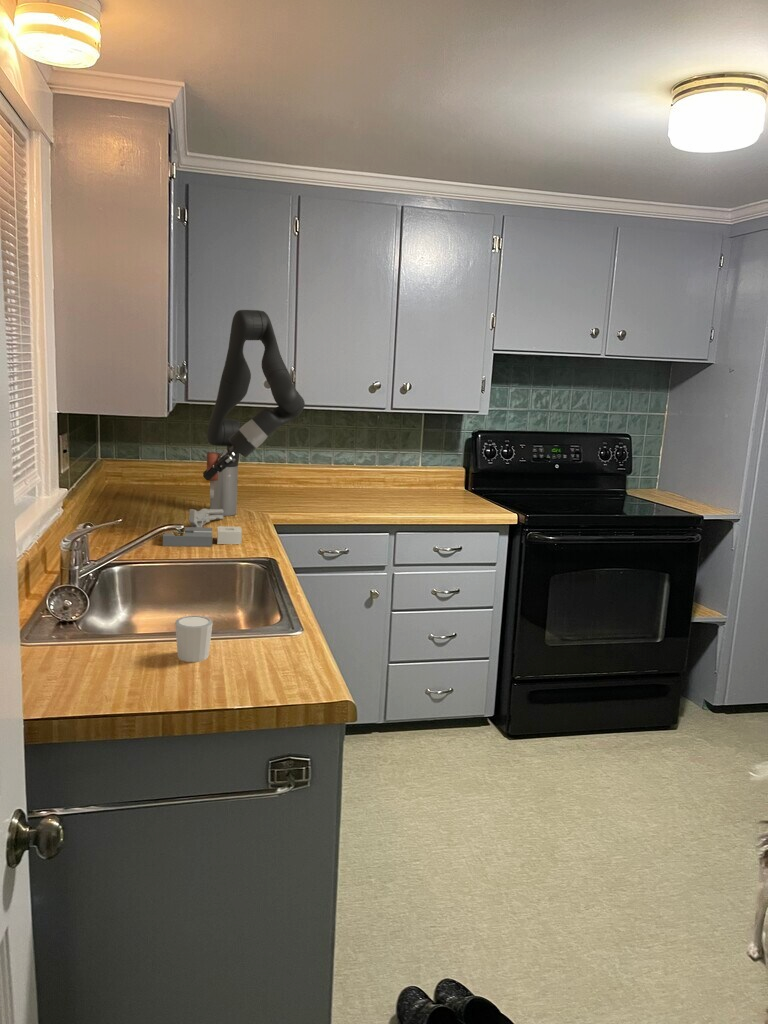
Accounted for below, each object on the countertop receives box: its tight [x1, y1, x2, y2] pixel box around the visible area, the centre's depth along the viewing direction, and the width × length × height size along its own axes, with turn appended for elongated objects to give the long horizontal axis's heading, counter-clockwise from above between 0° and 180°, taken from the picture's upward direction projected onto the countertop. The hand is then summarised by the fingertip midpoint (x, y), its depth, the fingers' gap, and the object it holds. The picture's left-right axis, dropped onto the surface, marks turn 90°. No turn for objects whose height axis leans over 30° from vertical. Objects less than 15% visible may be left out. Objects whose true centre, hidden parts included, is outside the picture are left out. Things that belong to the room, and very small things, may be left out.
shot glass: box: [174, 615, 214, 663], centre depth 145 cm, size 7×7×7 cm
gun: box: [188, 508, 225, 527], centre depth 249 cm, size 2×30×8 cm, turn 173°
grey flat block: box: [162, 526, 214, 548], centre depth 230 cm, size 12×14×3 cm
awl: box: [206, 451, 220, 499], centre depth 227 cm, size 3×3×13 cm
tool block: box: [216, 525, 243, 546], centre depth 232 cm, size 7×7×4 cm
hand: (205, 477), depth 227 cm, fingers closed on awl, 3 cm apart
